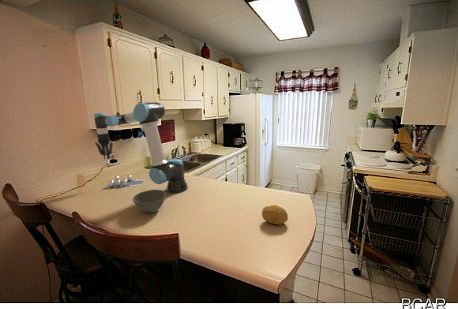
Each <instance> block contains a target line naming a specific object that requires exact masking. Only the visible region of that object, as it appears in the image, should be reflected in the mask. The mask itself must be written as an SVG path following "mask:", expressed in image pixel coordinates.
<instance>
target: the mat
mask: <svg viewBox="0 0 458 309" xmlns="http://www.w3.org/2000/svg"><path fill="white" fill-rule="evenodd" d="M145 180H146V179H132V181H131V182H128V180H127V186H126V187H127V188H128V187H140V186H142V184H143V183H145V182H144V181H145ZM113 182H114V187H112V188H110V184H109V183H108V185H106V187H105V189H114V188H115V189H116V188H118V187H117V185H116V182H115V180H113ZM126 187H124V186H123V185H121V186H120V187H119V188H126Z"/></svg>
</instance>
